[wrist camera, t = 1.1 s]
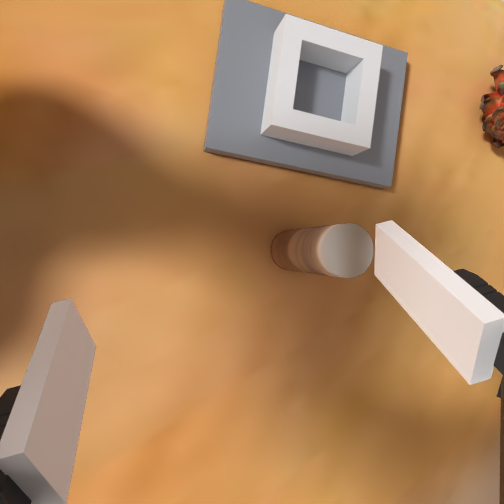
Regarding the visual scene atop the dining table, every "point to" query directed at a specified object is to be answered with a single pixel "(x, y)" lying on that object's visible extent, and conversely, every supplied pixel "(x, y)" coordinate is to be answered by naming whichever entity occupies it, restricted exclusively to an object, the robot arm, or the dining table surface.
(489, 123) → the dragon fruit
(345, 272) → the cream round-topped cylinder
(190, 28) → the dining table surface
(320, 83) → the socket board
